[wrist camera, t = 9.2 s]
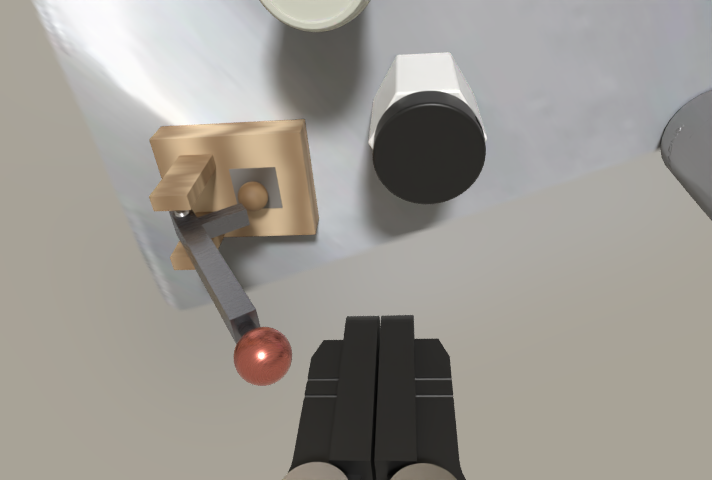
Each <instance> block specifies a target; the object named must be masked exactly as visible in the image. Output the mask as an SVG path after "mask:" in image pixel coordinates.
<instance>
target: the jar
mask: <svg viewBox="0 0 712 480" xmlns="http://www.w3.org/2000/svg"><path fill="white" fill-rule="evenodd" d="M486 141H487V135H486V132H485V129H484V125H483V122H482V119H481V116H480V112H479V109H478V106H477V102H476V99H475V96H474V94H473V92H472V90H471V88H470V86H469V85H468V83H467V81H466V79H465V78H464V76H463V74H462V72H461V71H460V69H459V67H458V65H457V63H456V62H455V60H454V58H453V56H452V55H451V53H449V52H446V53H426V54H407V55H397V56H396V58H395V59H394V61H393V63H392V65H391V67H390V69H389V71H388V73H387V75H386V76H385V78H384V80H383V82H382V84H381V86H380V88H379V90H378V92H377V93H376V95H375V97H374V99H373V107H372V116H371V125H370V134H369V142H368V143H369V145H370V147H371V148H372V149H373V163H374V168H375V171H376V173H377V175H378V177H379V179H380V181H381V182H382V184H383V185H384V186H385V187H386V188H387V189H388V190H389V191H390V192H392V193H393V194H394V195H396V196H397V197H399V198H401V199H404V200H406V201H409V202H413V203H418V204H436V203H441V202H445V201H448V200H451V199H453V198H455V197H457V196H459V195H460V194H462V193H463V192H465V191H466V190H467V189H468V188H469V187H470V186H471V185H472V184H473V183H474V182H475V181H476V179H477V178H478V176H479V174H480V172H481V170H482V168H483V165H484V161H485V155H486V146H485V142H486Z"/></svg>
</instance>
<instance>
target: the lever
mask: <svg viewBox="0 0 712 480" xmlns="http://www.w3.org/2000/svg"><path fill="white" fill-rule="evenodd" d="M169 213H170V216H171V219H172V222H173V225H174V228H175V231H176V234H177V236H178V238H179V240H180V242H181V243H182V245H183V247H184V249H185V251H186V253H187V254H188V256H189V258H190V260H191V262H192V264H193V265H194V267H195V269H196V271H197V273H198V275H199V276H200V278H201V280H202V282H203V284H204V286H205V288H206V289H207V291H208V293H209V295H210V297H211V299H212V300H213V302H214V304H215V306H216V307H217V309H218V311H219V313H220V315H221V317H222V319H223V320H224V322H225V324H226V326H227V328H228V330H229V331H230V333H231V335H232V337H233V339H234V341H235V343H236V344H237V345H236V347H235V350H234V364H235V367H236V370H237V372H238V373H239V375H240V376H241V377H242V378H243V379H244V380H246V381H247V382H249V383H251V384H254V385H258V386H266V385H270V384H273V383H275V382H277V381H278V380H280V379H281V378H282V377H283V376H284V375H285V374H286V373H287V371H288V369H289V367H290V365H291V360H292V350H291V346H290V343H289V342H288V340H287V338H286V337H285V336H284V335H283V334H282V333H281V332H279V331H278V330H276V329H273V328H269V327H260V324H259V320H258V316H257V312H256V309H255V307H254V306H253V304H252V303H251V301H250V299H249V298H248V296H247V295H246V293H245V292H244V290H243V288H242V287H241V285H240V284H239V282H238V281H237V279H236V277H235V276H234V274H233V273H232V271H231V270H230V268H229V266H228V265H227V263H226V262H225V260H224V259H223V257H222V255H221V254H220V252H219V251H218V249H217V248H216V246H215V244H214V243H213V241H212V240H211V238H214V237H217V236H219V235H222V234H225V233H228V232H231V231H234V230H237V229H239V228H242V227H245V226H248V225H250V223H249V218H248V214H247V210H246V208H245V207H244V206H243V205H242V203H239V204H236V205H233V206H230V207H227V208H224V209H221V210H218V211H215V212H212V213H209V214H206V215H203V216H200V217H197V216H196V215H195V213H194V212H193V210H192V209H191V210H177V211H170V212H169Z"/></svg>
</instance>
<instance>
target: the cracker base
mask: <svg viewBox="0 0 712 480" xmlns="http://www.w3.org/2000/svg"><path fill="white" fill-rule="evenodd" d="M150 144H151V147H152V150H153V153H154V156H155V159H156V162H157V165H158V168H159V171H160V175H161V178H162V180H161V181H160V183H159V184H158V185H157V187H156V188H155V189H154V191H153V192H152V193H151V195H150V196H149V198H150V201H151V204H152V207H153V210H154V211H177V210H191V209H192V210H193V212H194V213H195V215H196V216H197V217H200V216H203V215H206V214H209V213H212V212H215V211H218V210H221V209H224V208H227V207H230V206H233V205H236V204H239V203H242V205H243V206H244V207H245V208H246V210H247V214H248V218H249V223H250V225H248V226H245V227H242V228H239V229H237V230H234V231H231V232H228V233H225V234H222V235H219V236H217V237H214V238H211V240H212V241H213V243H214V244H215V246H216V248H217V249H218V248H219V246H220V244H221V242H222V240H223V238H224V237H247V236H281V235H314V234H316V229H317V225H318V220H319V215H318V208H317V201H316V194H315V187H314V180H313V173H312V166H311V159H310V152H309V145H308V138H307V131H306V124H305V119H298V120H279V121H259V122H240V123H221V124H201V125H182V126H162V127H160V128H159V129H158V131H157V132H156V133H155V134H154V135H153V136H152V137H151V139H150ZM170 259H171V262H172V265H173V268H174V270H196V269H195V267H194V265H193V264H192V262H191V260H190V258H189V256H188V254H187V253H186V251H185V249H184V247H183V245H182V243H181V242H180V241H179V243H178V244H177V246H176V248H175V250H174V251H173V253H172V255H171V257H170Z"/></svg>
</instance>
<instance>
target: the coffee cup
mask: <svg viewBox="0 0 712 480" xmlns="http://www.w3.org/2000/svg"><path fill="white" fill-rule="evenodd" d="M259 1H260V2H261V3H262V5H263V6H264V7H265V8H266V9H267V10H268V11H269V12H270V13H271V14H272V15H273V16H274V17H275V18H277V19H278V20H279V21H281V22H283V23H284V24H286V25H288V26H290V27H293V28H295V29H298V30H302V31H308V32H324V31H329V30H333V29H336V28H339V27H341V26H343V25H345V24H347V23H348V22H350V21H351V20H353V19H354V18H355V17H357V16H358V15H359V14H360V13H361V12H362V11H363V10H364V9H365V7H366V6H367V5H368V3H369V2H370V0H259Z"/></svg>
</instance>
